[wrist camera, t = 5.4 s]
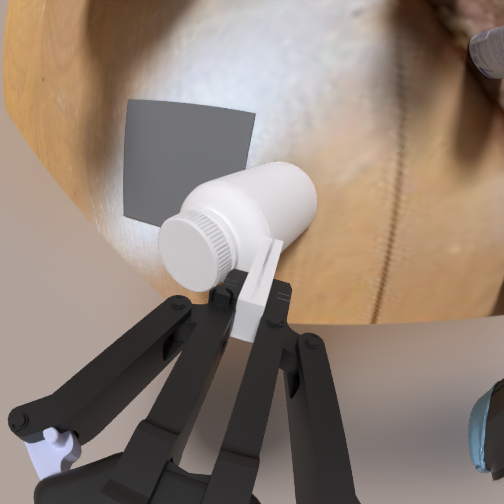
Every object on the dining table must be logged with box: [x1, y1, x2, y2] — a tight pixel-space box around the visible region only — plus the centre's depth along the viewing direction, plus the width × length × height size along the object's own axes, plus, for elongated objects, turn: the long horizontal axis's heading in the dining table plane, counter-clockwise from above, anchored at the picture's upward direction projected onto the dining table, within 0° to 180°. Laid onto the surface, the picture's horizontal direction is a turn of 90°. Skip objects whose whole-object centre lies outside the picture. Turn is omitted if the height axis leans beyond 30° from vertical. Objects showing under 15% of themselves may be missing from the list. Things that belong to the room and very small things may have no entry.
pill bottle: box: [158, 162, 317, 292], centre depth 23 cm, size 8×8×15 cm
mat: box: [123, 100, 256, 226], centre depth 31 cm, size 16×16×1 cm
